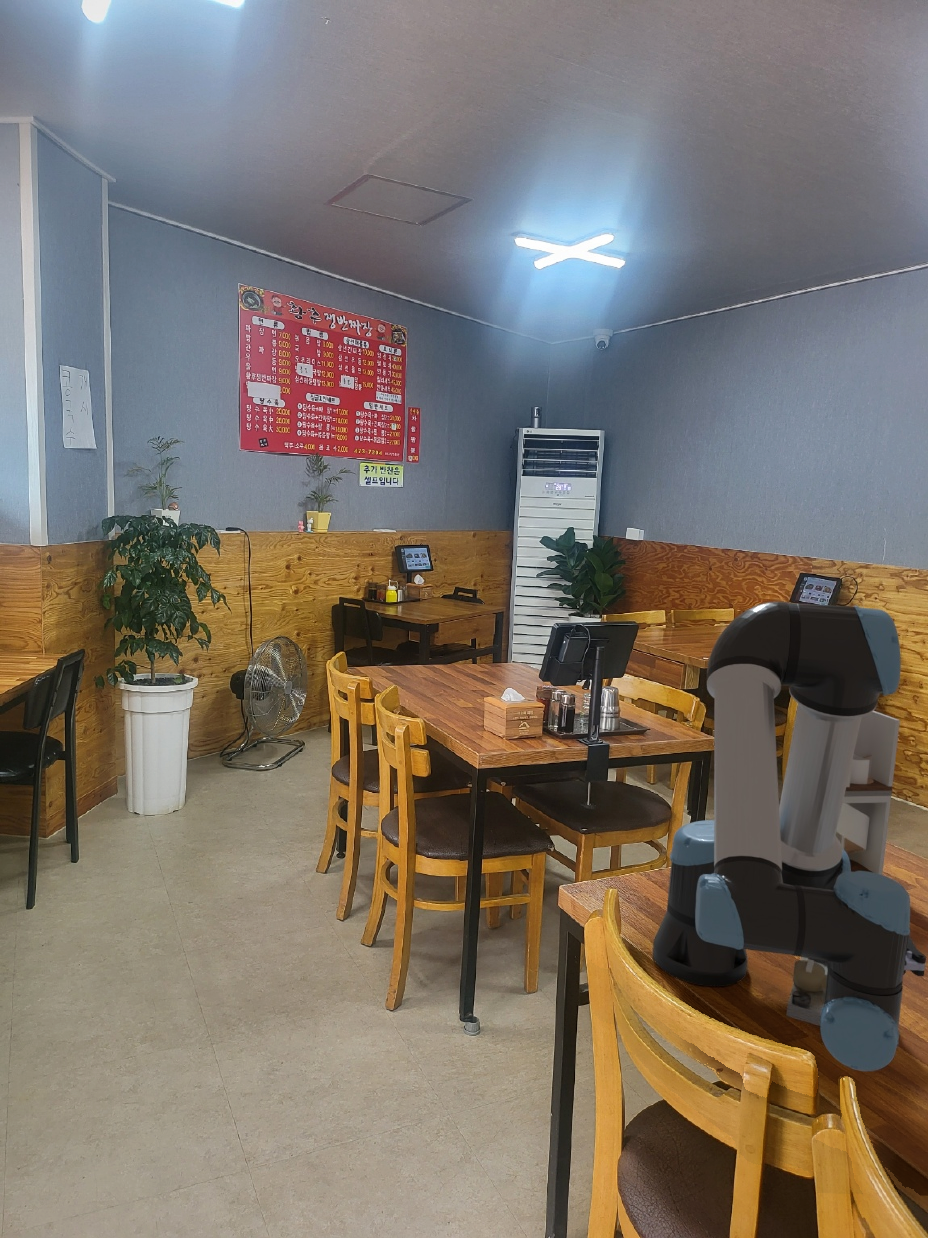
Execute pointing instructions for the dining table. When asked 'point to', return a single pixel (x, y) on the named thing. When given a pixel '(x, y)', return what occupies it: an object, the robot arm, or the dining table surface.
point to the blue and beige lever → (809, 976)
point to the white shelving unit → (869, 793)
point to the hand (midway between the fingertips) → (875, 906)
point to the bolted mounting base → (807, 1001)
